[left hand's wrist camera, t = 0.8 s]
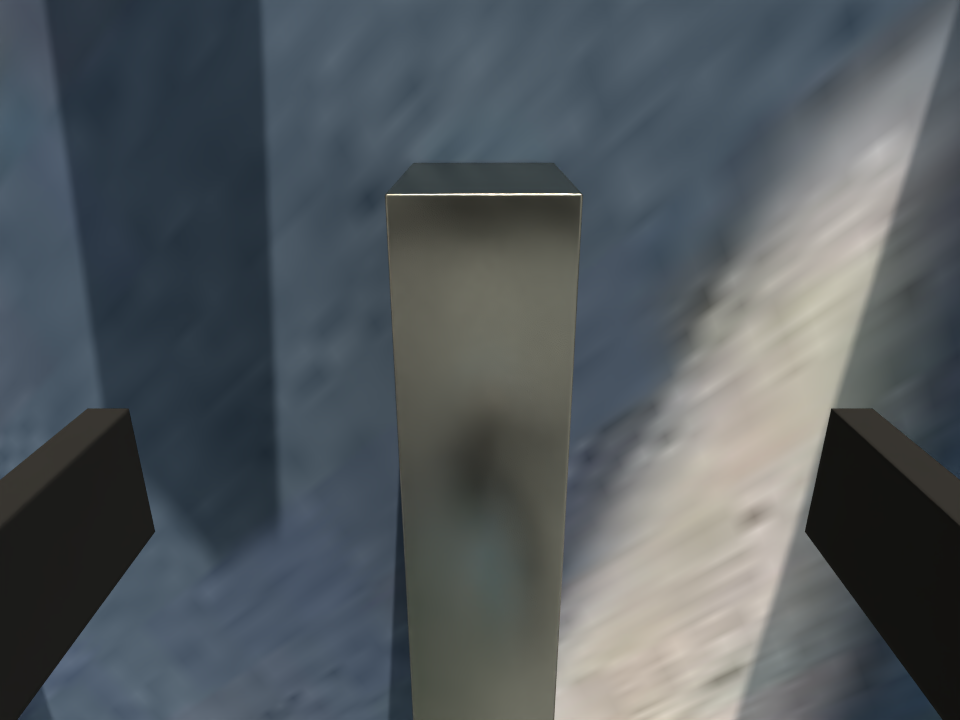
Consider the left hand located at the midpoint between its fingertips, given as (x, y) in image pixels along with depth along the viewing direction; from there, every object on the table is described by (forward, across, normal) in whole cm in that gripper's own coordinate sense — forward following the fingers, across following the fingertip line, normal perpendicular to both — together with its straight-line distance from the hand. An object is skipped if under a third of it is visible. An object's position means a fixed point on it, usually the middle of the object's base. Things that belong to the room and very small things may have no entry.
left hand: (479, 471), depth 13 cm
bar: (+16, 0, -8) cm, 18 cm away
